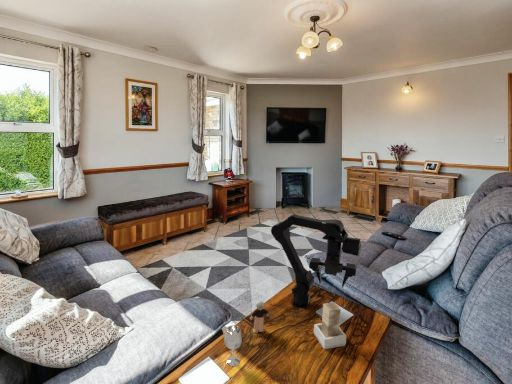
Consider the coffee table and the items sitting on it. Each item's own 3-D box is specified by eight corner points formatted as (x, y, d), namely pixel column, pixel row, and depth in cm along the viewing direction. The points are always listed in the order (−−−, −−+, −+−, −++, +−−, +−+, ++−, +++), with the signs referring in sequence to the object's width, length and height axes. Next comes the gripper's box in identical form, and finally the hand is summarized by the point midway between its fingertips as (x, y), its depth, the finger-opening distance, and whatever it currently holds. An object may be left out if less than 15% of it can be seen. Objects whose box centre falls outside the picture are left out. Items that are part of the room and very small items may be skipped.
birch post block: (326, 342, 105) (329, 310, 102) (321, 334, 109) (323, 303, 106) (337, 340, 106) (340, 309, 103) (331, 332, 110) (334, 302, 108)
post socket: (324, 349, 103) (324, 339, 102) (313, 333, 111) (314, 324, 110) (345, 345, 105) (346, 335, 104) (333, 330, 113) (334, 321, 112)
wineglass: (224, 355, 99) (224, 324, 97) (241, 354, 100) (241, 323, 97) (224, 368, 94) (224, 336, 91) (242, 367, 94) (242, 335, 92)
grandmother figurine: (253, 336, 109) (253, 306, 106) (248, 330, 112) (249, 301, 109) (270, 330, 112) (271, 301, 110) (265, 324, 115) (266, 296, 113)
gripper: (307, 254, 114) (305, 290, 117) (356, 262, 108) (353, 299, 111) (312, 244, 124) (310, 277, 127) (357, 251, 118) (354, 285, 121)
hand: (331, 285), depth 121 cm, fingers open, 9 cm apart
